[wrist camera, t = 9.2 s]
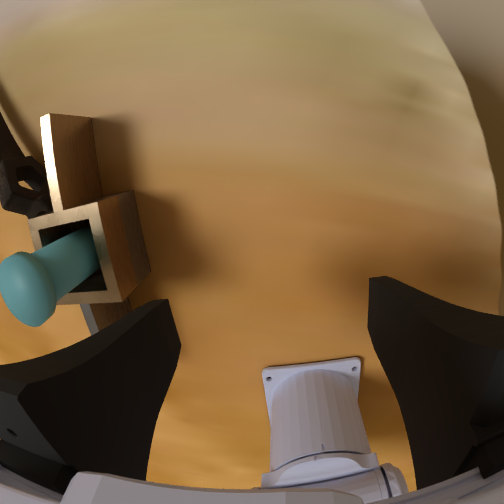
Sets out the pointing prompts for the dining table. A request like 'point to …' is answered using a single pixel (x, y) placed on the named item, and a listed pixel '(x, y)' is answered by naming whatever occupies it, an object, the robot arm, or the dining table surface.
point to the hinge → (101, 221)
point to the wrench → (21, 179)
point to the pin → (47, 275)
